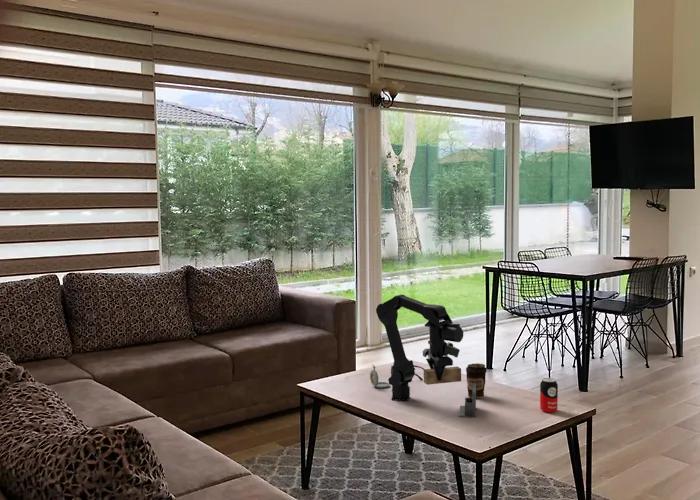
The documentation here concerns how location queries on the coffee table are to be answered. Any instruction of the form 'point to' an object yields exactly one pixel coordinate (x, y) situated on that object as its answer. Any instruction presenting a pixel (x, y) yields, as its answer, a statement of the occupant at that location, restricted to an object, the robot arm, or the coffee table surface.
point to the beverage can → (548, 395)
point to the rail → (448, 375)
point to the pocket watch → (375, 378)
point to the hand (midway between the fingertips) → (437, 379)
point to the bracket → (469, 405)
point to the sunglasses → (415, 374)
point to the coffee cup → (476, 379)
